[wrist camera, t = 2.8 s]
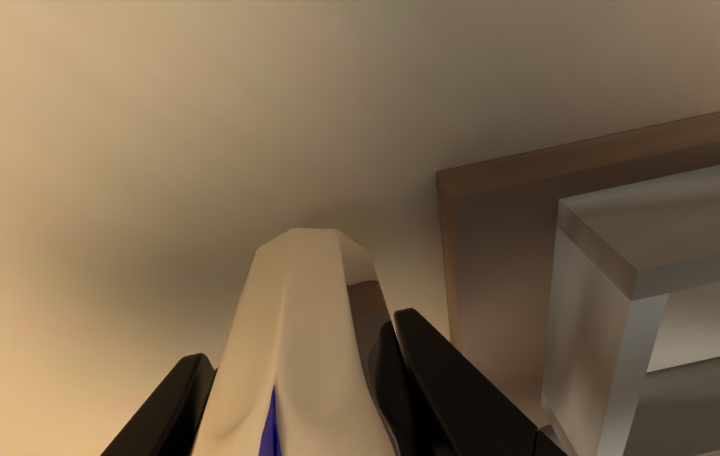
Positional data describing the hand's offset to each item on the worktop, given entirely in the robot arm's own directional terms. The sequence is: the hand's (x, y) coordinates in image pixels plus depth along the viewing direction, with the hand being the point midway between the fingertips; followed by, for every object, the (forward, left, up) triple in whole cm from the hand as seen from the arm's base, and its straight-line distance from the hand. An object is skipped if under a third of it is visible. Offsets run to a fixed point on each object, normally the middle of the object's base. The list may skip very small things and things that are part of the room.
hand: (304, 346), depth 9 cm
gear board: (-8, -10, -4) cm, 14 cm away
